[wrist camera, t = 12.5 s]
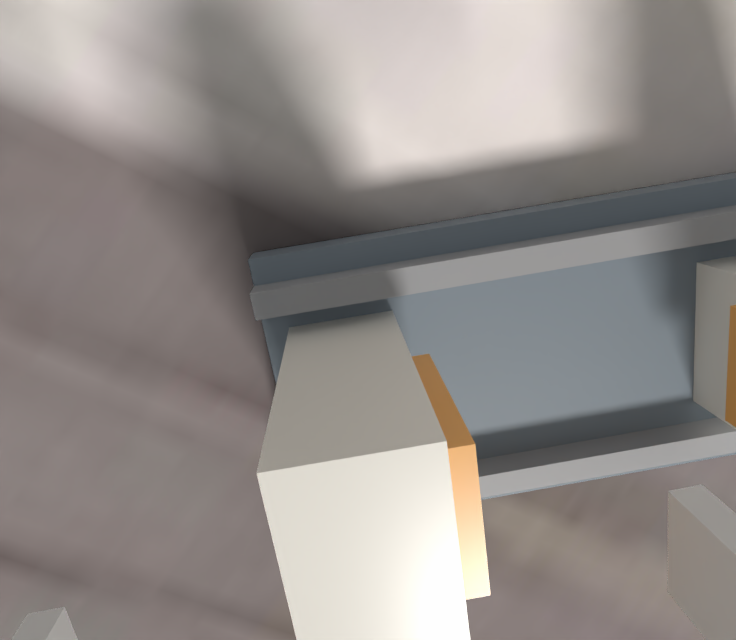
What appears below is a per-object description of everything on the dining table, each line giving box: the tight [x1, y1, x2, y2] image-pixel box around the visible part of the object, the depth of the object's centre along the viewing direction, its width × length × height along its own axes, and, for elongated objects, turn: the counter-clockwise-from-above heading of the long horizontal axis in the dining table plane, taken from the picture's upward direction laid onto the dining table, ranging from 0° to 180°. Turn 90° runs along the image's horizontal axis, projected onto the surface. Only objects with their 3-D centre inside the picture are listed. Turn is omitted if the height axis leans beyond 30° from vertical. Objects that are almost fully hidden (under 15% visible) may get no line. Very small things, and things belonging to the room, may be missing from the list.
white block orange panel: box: [257, 311, 491, 640], centre depth 17 cm, size 6×5×10 cm
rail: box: [248, 172, 736, 500], centre depth 18 cm, size 12×22×12 cm, turn 99°
